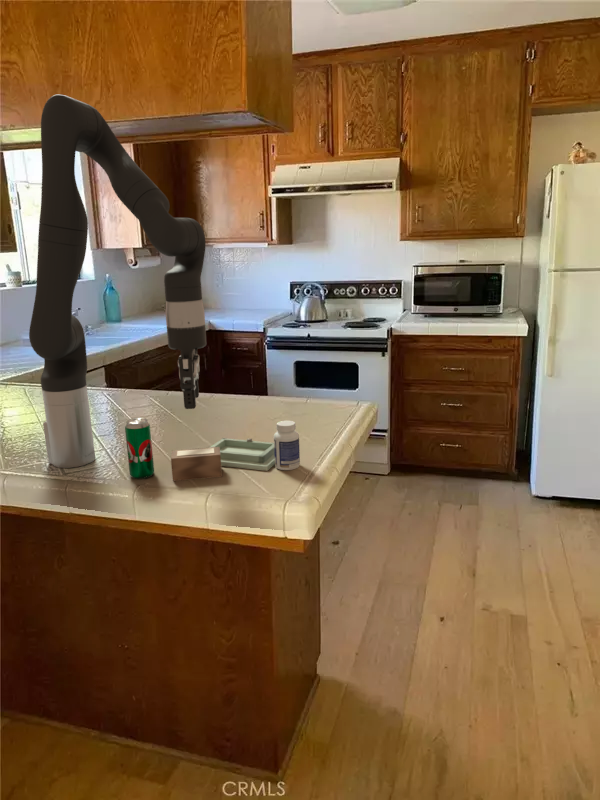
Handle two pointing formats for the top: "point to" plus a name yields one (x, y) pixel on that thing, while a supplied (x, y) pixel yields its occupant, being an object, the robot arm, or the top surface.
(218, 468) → the brown block
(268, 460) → the pale green tray
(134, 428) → the soda can
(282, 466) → the pill bottle
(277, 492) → the top surface
